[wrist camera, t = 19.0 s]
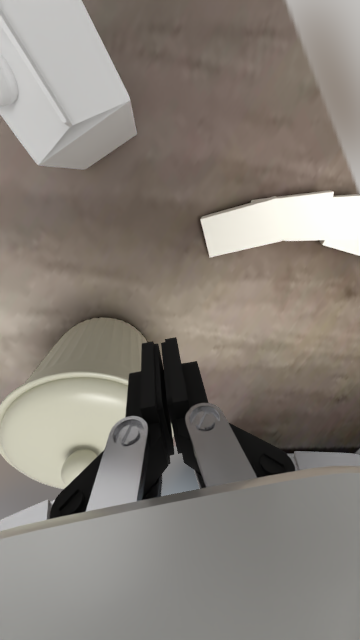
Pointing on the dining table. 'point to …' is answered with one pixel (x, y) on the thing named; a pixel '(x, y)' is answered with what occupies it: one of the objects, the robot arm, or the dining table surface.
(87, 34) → the milk carton
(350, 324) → the dining table surface
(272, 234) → the domino
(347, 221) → the domino
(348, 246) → the domino
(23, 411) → the canister
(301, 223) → the domino
